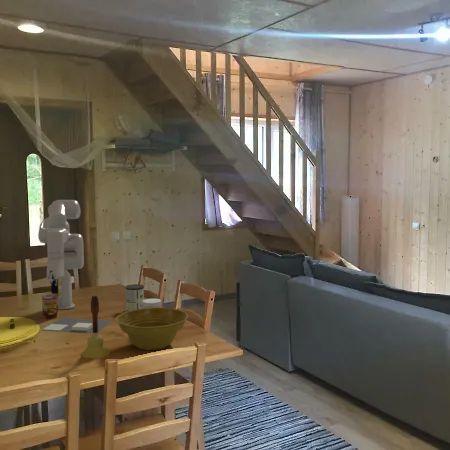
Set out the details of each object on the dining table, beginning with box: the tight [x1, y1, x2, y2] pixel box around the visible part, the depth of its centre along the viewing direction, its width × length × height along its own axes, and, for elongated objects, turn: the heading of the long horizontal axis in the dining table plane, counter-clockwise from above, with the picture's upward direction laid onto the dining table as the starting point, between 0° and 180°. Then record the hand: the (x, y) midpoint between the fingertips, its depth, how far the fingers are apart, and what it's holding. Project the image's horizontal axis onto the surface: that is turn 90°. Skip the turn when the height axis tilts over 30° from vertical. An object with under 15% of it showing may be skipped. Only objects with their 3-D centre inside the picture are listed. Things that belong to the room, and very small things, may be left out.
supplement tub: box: [142, 298, 163, 309], centre depth 254 cm, size 10×10×15 cm
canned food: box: [41, 294, 59, 320], centre depth 272 cm, size 8×8×12 cm
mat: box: [42, 317, 113, 334], centre depth 258 cm, size 28×22×1 cm
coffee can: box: [125, 283, 145, 312], centre depth 289 cm, size 10×10×14 cm
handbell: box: [80, 295, 111, 359], centre depth 219 cm, size 12×12×25 cm
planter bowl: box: [115, 307, 189, 351], centre depth 230 cm, size 32×32×13 cm
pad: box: [42, 323, 68, 332], centre depth 253 cm, size 9×9×1 cm
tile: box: [72, 323, 93, 332], centre depth 252 cm, size 8×2×7 cm
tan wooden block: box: [51, 277, 62, 298], centre depth 251 cm, size 4×4×12 cm
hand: (56, 291), depth 252 cm, fingers closed on tan wooden block, 3 cm apart
